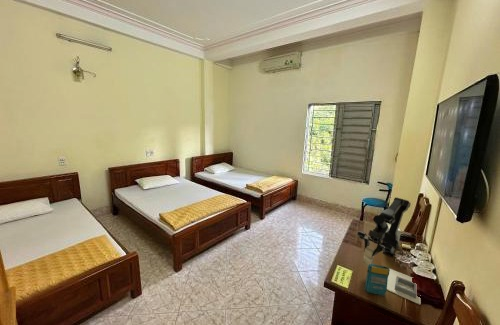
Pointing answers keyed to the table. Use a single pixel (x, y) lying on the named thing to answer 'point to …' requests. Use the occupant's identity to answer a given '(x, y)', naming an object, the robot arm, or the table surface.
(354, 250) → the table surface
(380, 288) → the handheld gaming console
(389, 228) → the supplement box
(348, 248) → the table surface
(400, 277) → the pocket board
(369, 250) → the birch post
